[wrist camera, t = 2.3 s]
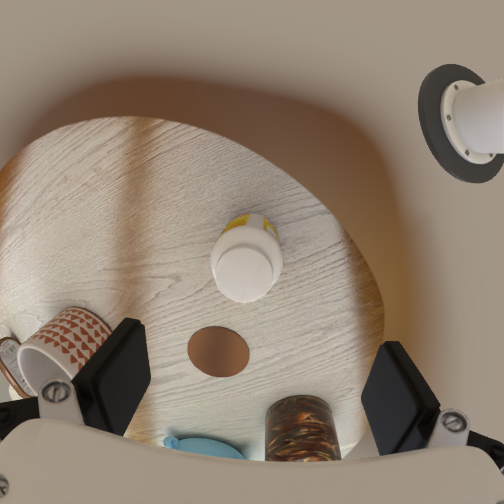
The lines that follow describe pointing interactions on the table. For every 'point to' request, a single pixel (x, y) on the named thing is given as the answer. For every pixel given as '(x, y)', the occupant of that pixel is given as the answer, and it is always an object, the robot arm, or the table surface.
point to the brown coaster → (218, 351)
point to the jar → (301, 431)
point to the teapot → (203, 447)
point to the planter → (61, 347)
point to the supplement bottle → (247, 258)
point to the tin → (13, 367)
